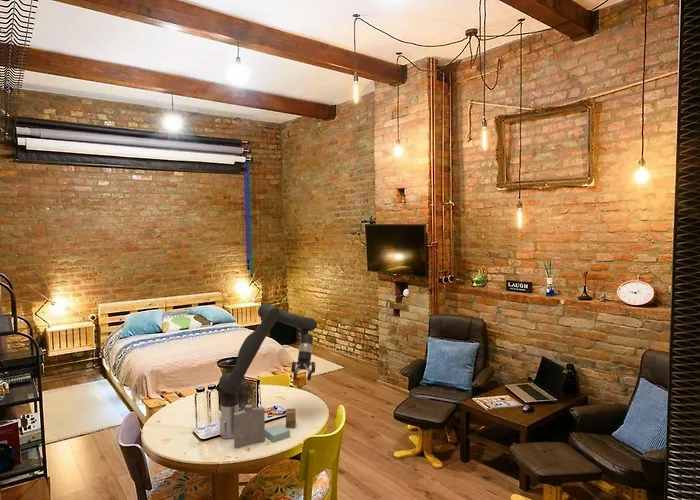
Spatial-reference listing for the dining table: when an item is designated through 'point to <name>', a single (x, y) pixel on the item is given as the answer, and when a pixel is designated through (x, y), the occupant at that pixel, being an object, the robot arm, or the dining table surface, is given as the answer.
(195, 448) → the dining table surface
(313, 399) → the dining table surface
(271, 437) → the plinth block
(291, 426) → the walnut block
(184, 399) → the dining table surface
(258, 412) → the hip flask
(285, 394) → the dining table surface
